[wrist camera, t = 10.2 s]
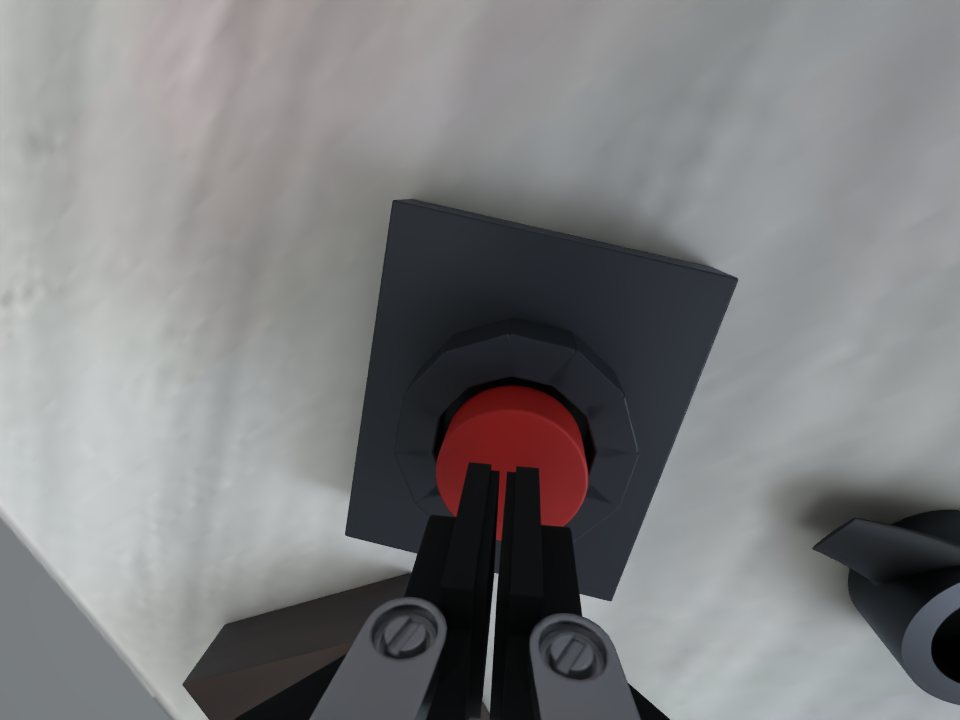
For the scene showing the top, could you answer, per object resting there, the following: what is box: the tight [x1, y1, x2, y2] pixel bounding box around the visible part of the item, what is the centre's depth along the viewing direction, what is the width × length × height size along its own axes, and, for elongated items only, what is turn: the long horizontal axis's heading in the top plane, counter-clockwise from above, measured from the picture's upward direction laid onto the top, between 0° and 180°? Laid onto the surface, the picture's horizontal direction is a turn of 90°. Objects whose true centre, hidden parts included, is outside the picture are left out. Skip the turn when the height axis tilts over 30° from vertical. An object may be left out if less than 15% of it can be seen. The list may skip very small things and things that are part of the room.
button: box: [436, 385, 588, 541], centre depth 14 cm, size 4×4×2 cm
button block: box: [345, 199, 738, 601], centre depth 16 cm, size 12×10×4 cm
